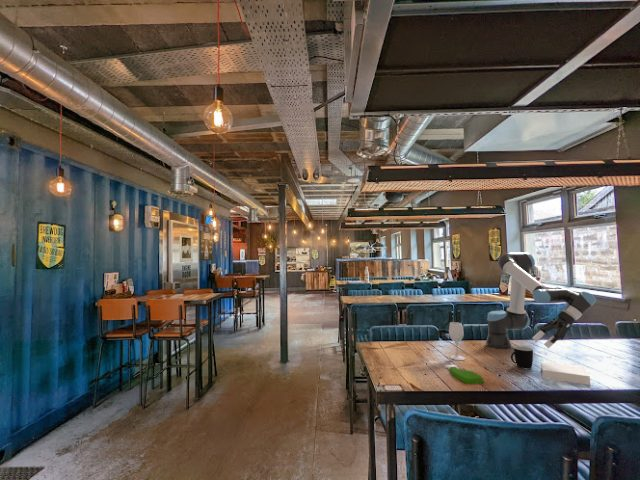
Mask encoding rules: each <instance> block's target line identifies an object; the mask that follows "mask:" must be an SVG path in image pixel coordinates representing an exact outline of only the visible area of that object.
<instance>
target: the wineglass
mask: <svg viewBox="0 0 640 480" xmlns="http://www.w3.org/2000/svg"><path fill="white" fill-rule="evenodd" d="M448 336H449V338H450V339H451V340H452V342H453V341H454V343H455V355H450V356H449V359H451V360H453V359H454V360H455V361H464V360H466V358H465V357H464V356H462V355H459V347H458V345H459V342H461V341H462V339H464V327H463V324H462V323H461V322H456V321H451V322H449V327H448Z"/></svg>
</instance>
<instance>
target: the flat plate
mask: <svg viewBox="0 0 640 480" xmlns="http://www.w3.org/2000/svg"><path fill="white" fill-rule="evenodd" d="M540 367H541V368H540V369H541V374H542V377H543V379H546V380H547V379H548V380H551V381H552V380H553V381H559V380H560V382H567V383H573V384H574V383H575V384H579V385H580V384H581V385H586V384H587V385H588V386H591V379H590V375H589V373H588V372H587V370H586V368H585V366H584V365H583V366H582V365H575V364H567V363H557V362H552V361H544V360H543V361H542V360H541V361H540Z"/></svg>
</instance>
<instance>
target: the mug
mask: <svg viewBox="0 0 640 480" xmlns="http://www.w3.org/2000/svg"><path fill="white" fill-rule="evenodd" d="M533 350H534V349H533V348H531V347H528V346H523V345H515V346H513V352H512V353H511V355H510V360H511V361H512V363H514V364H516V366H517V367H518V368H521V369H524V368H527V369H526V370H529V368H530V369H531V368H532V367H533V363H534V351H533ZM514 359H515V360H514Z"/></svg>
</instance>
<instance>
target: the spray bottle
mask: <svg viewBox="0 0 640 480" xmlns="http://www.w3.org/2000/svg"><path fill="white" fill-rule="evenodd" d="M447 368H448V370H449V371H450V373H451V375H452V376H453V377H454V378H455V377H456V378H455V379H457V380H458V379H459V381H460V382H461V383H463V382H464V384H465V383H467V384H466V385H477V384H476V383H479V384H484V380H485V379H484V378H483V377H482V376H481V375H480V374H478V373H476V372H474V371H473V370H467V369H461V367H458V365H457V364H448V365H446V364H445V365H444V369H447Z"/></svg>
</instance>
